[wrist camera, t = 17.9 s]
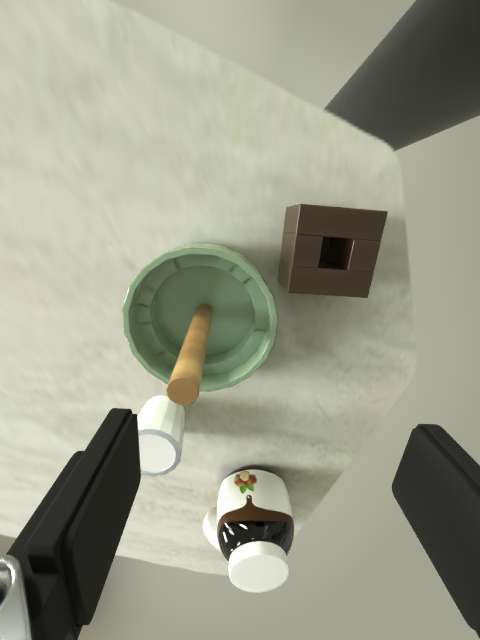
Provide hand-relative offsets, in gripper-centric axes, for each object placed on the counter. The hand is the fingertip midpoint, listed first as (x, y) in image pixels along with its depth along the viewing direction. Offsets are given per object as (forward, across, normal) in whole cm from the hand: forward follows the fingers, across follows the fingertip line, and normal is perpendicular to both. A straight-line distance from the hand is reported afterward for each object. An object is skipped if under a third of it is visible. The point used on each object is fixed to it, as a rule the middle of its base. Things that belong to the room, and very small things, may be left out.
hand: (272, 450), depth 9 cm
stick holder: (+24, -8, -5) cm, 26 cm away
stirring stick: (+23, +4, +3) cm, 24 cm away
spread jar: (+24, -3, +32) cm, 40 cm away
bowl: (+24, +4, +3) cm, 25 cm away
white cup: (+24, +9, +18) cm, 31 cm away
